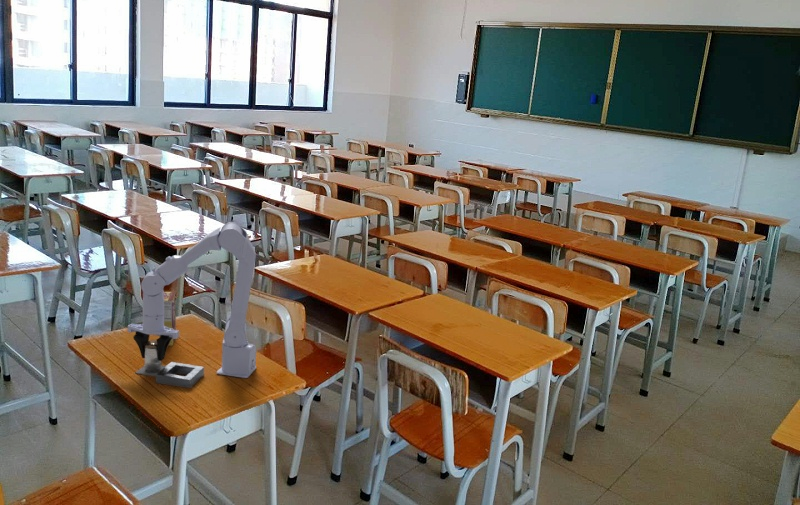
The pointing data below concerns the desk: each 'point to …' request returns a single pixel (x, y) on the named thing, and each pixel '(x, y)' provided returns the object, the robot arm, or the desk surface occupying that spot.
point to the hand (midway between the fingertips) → (153, 358)
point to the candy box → (170, 312)
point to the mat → (143, 372)
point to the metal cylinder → (152, 357)
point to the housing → (183, 381)
